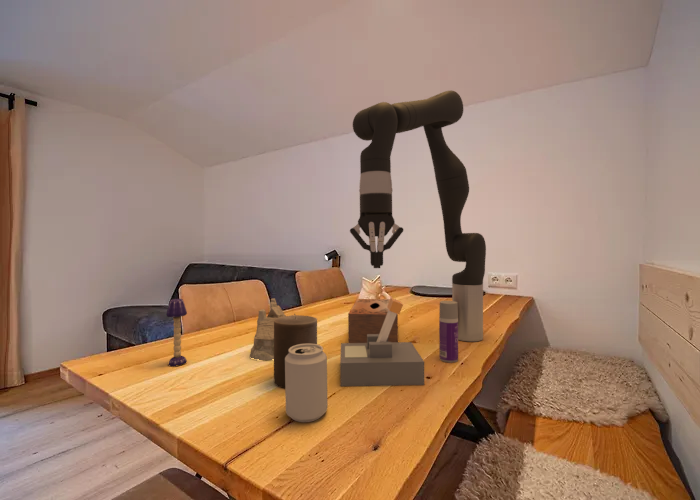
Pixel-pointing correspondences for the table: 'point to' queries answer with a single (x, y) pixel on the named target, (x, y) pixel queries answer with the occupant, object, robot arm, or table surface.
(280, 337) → the pillar candle
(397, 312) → the breaker lever
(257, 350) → the ceramic cottage
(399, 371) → the box
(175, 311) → the toy lamp
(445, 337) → the container
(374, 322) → the tissue box cover
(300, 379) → the can
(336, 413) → the table surface
